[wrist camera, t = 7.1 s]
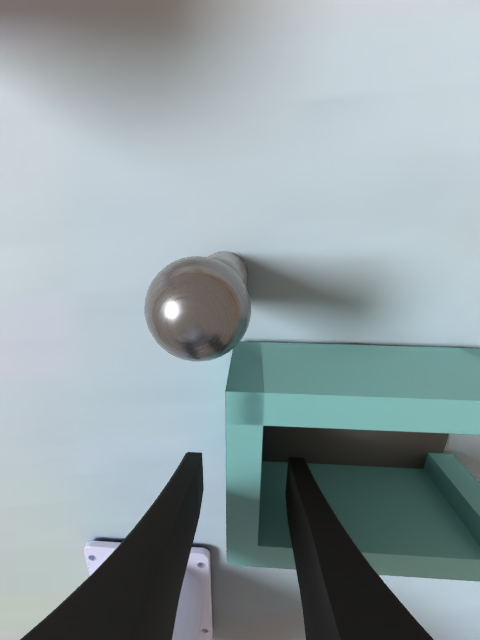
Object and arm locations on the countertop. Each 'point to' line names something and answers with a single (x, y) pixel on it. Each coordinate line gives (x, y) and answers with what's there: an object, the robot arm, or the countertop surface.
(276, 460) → the coaster
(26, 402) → the countertop surface
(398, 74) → the countertop surface
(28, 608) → the countertop surface
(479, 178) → the countertop surface
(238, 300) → the cylinder
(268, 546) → the c link
